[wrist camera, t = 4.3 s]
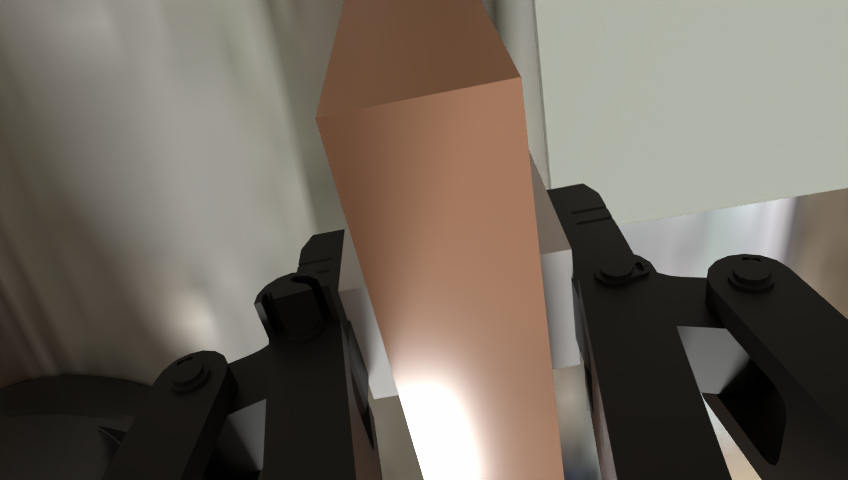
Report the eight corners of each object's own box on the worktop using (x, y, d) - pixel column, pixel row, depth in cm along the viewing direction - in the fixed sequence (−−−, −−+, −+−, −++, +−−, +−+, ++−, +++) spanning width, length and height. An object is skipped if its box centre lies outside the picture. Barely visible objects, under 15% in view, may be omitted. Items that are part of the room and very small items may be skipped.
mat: (552, 228, 26) (555, 236, 25) (515, -181, 18) (518, -181, 18) (1084, 139, 24) (1098, 146, 24) (1293, -354, 16) (1321, -360, 16)
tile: (424, 277, 22) (448, 565, 13) (351, -35, 16) (311, 118, 8) (499, 264, 21) (571, 547, 13) (450, -56, 16) (520, 76, 8)
